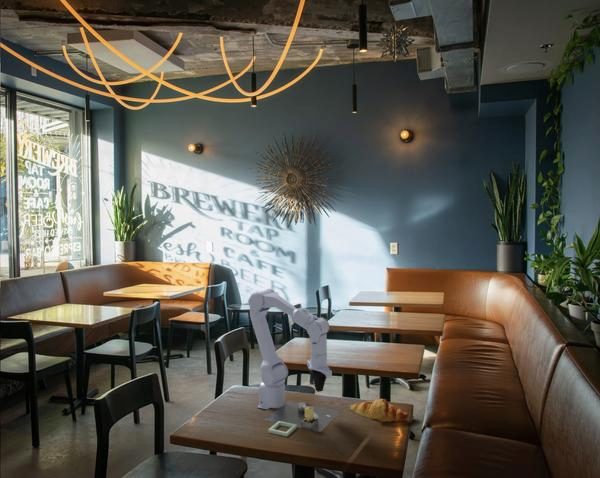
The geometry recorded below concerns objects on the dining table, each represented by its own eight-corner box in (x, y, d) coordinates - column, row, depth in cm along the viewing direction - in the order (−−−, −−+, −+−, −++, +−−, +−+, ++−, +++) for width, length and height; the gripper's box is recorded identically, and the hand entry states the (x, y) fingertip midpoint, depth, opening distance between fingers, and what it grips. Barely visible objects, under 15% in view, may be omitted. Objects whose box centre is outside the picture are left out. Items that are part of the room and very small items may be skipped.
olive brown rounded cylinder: (303, 426, 167) (303, 408, 167) (306, 422, 170) (306, 405, 170) (311, 427, 166) (311, 409, 166) (314, 424, 169) (314, 406, 169)
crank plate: (263, 422, 173) (263, 414, 173) (288, 403, 189) (288, 396, 189) (320, 434, 163) (320, 426, 163) (341, 413, 179) (341, 406, 179)
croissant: (348, 424, 178) (343, 409, 174) (355, 402, 186) (351, 387, 182) (406, 433, 169) (403, 418, 165) (412, 410, 177) (409, 394, 173)
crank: (296, 410, 180) (296, 397, 180) (303, 408, 181) (303, 396, 181) (312, 425, 168) (312, 411, 167) (320, 423, 169) (320, 410, 168)
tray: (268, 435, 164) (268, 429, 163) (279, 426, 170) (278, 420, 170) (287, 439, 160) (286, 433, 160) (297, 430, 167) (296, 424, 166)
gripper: (299, 349, 179) (300, 386, 180) (318, 360, 166) (319, 400, 167) (316, 346, 182) (317, 382, 183) (336, 357, 169) (337, 395, 170)
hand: (319, 390), depth 175 cm, fingers closed
